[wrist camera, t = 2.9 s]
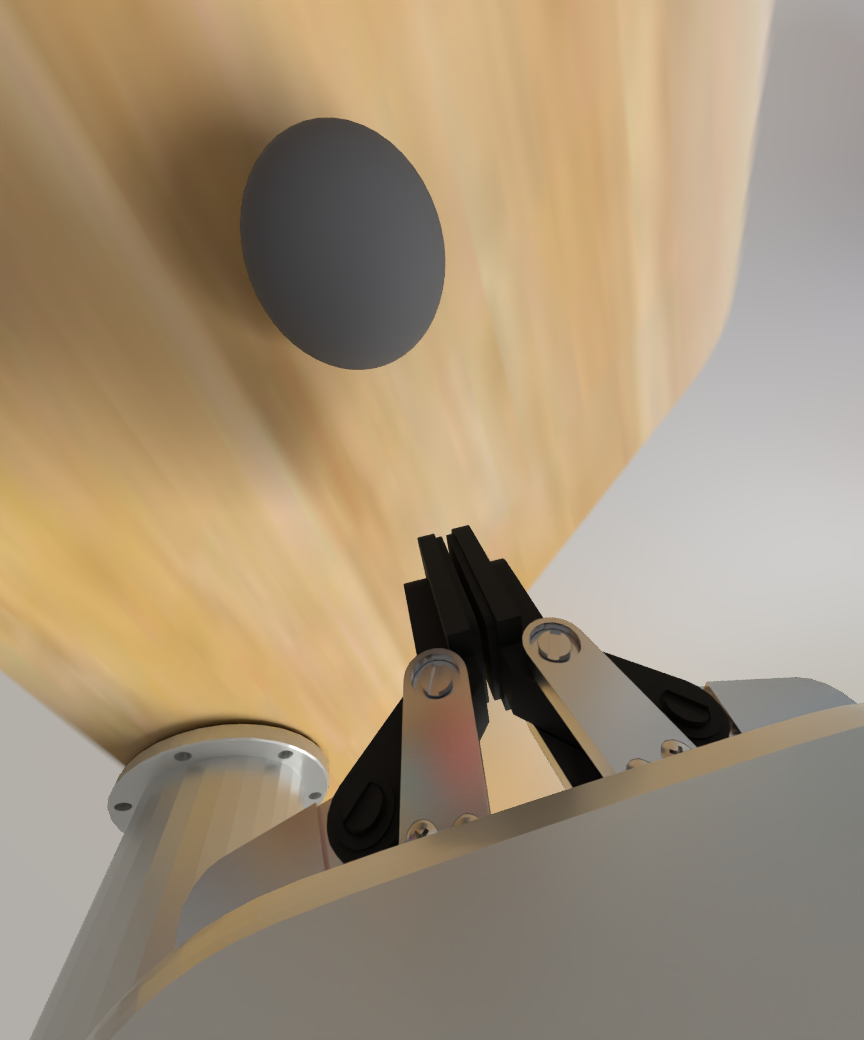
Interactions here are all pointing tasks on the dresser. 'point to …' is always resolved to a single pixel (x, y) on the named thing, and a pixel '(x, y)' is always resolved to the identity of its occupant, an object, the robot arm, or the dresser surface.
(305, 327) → the dark gray ball
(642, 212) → the dresser surface
